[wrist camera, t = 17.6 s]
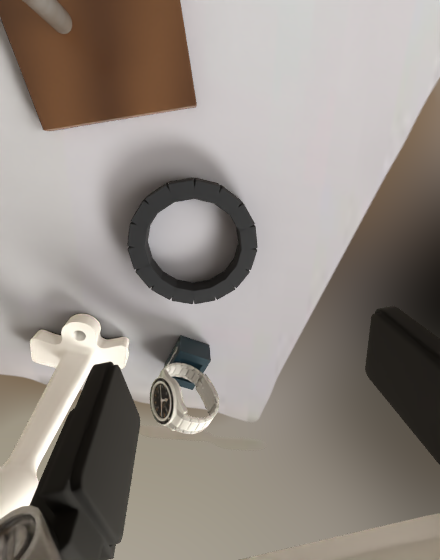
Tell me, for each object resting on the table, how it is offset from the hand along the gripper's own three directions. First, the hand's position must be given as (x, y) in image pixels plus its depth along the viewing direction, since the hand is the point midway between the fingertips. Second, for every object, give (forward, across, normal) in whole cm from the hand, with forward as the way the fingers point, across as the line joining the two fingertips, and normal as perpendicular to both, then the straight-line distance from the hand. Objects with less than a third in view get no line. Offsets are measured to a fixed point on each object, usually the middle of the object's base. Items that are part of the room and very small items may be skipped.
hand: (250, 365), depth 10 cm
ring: (+23, +2, +2) cm, 23 cm away
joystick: (+24, +18, +12) cm, 32 cm away
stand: (+23, +6, -18) cm, 30 cm away
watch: (+23, +6, +18) cm, 30 cm away
